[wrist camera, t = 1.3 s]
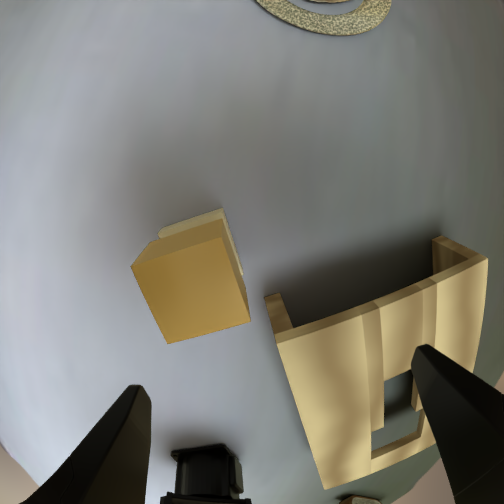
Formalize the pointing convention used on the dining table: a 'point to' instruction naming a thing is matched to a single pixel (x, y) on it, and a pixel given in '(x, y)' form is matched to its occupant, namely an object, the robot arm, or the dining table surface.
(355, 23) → the pastry
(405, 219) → the dining table surface
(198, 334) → the mustard yellow block
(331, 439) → the keyhole board
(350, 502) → the tin
